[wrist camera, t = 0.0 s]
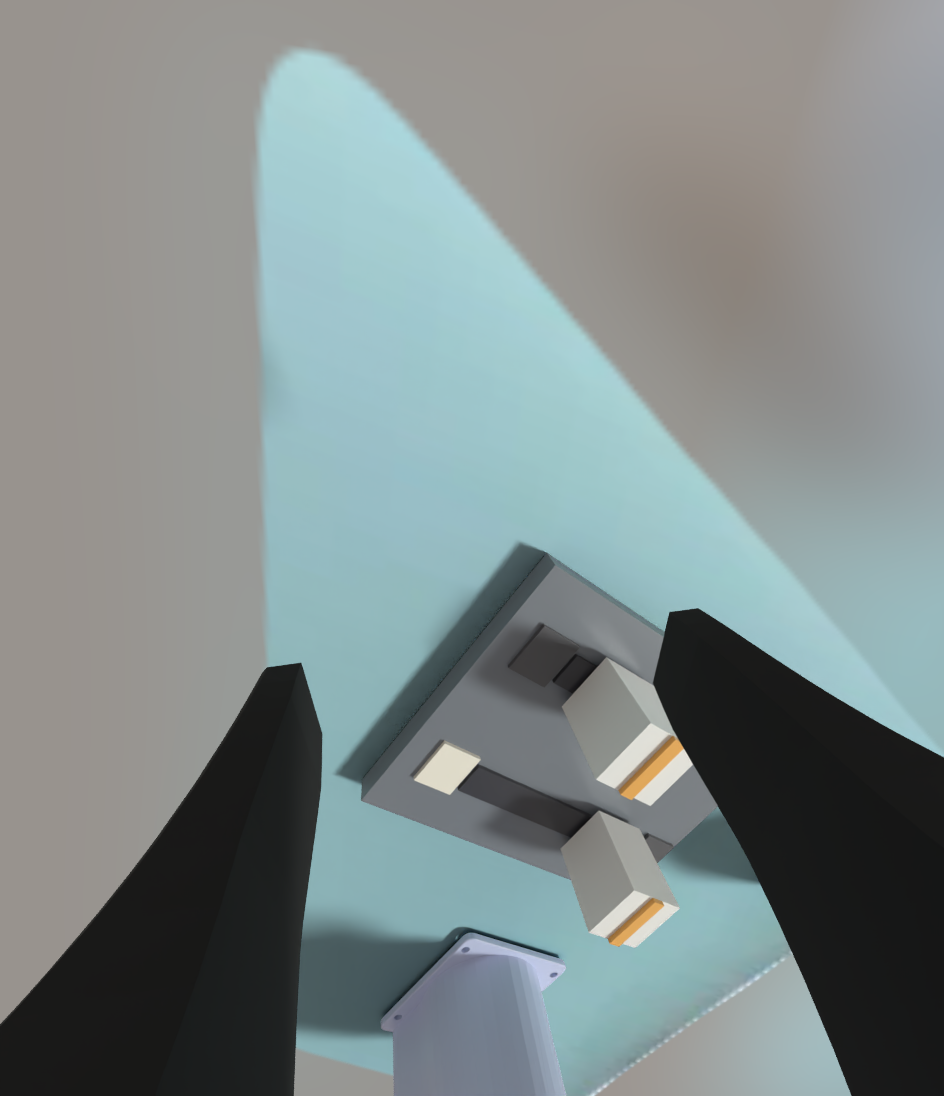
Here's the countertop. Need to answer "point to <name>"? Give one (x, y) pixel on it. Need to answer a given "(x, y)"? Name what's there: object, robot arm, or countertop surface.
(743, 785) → the robot arm
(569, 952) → the countertop surface
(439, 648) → the countertop surface
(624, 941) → the toggle
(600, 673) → the toggle
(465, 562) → the countertop surface
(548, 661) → the switch unit
